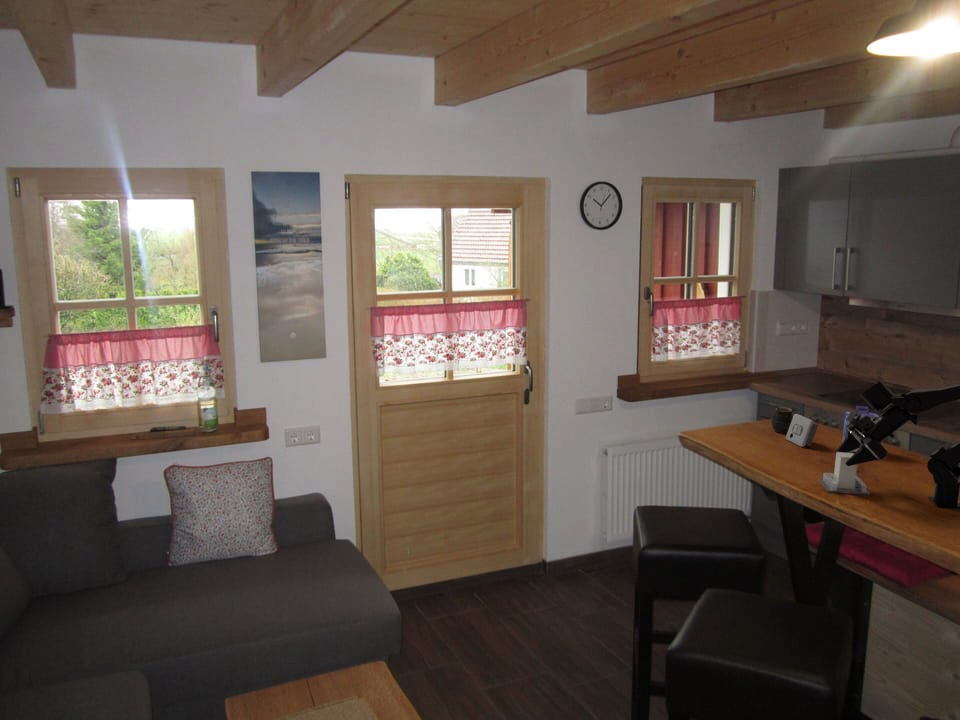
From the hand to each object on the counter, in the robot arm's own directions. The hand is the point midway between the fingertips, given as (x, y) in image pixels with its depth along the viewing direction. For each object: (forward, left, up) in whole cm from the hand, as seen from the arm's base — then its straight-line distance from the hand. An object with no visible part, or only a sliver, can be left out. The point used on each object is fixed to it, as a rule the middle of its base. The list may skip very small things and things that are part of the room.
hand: (841, 459), depth 220 cm
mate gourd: (+55, +3, -8) cm, 56 cm away
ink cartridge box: (+37, -17, -8) cm, 41 cm away
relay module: (0, -1, -8) cm, 8 cm away
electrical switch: (+42, 0, -8) cm, 43 cm away
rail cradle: (0, -1, -8) cm, 8 cm away
